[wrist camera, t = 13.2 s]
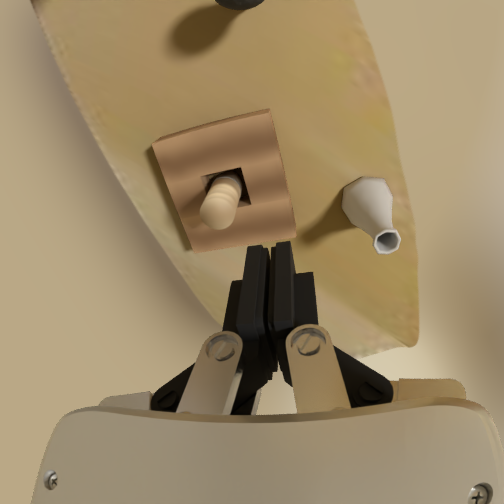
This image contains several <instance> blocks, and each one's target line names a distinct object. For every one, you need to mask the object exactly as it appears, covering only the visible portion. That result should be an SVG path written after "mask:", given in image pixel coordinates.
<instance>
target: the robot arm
mask: <svg viewBox="0 0 504 504" xmlns="http://www.w3.org/2000/svg"><path fill="white" fill-rule="evenodd" d="M278 362H279V365H280V369H281V371H282V372H283V376H284V380H285V382H286V383H288V384H289V385H290V386H291V387H293V390H294V396H295V402H296V408H297V414H279V415H256V412H257V408H258V404H259V400H260V396H261V387H263V386H264V385H265V384H266V383H267V382H268V380H272V374H273V372H277V370H278ZM31 504H504V451H503V447H502V443H501V440H500V436H499V433H498V430H497V428H496V425H495V423H494V421H493V419H492V417H491V415H490V414H489V412H488V411H487V410H486V409H485V408H484V407H483V406H481V405H480V404H478V403H476V402H473V401H469V400H466V392H465V388H464V387H463V385H462V384H461V383H460V382H458V381H457V380H454V379H399V381H389V380H387V379H386V378H385V377H384V376H382V375H381V374H379V373H377V372H376V371H374V370H372V369H371V368H369V367H367V366H365V365H364V364H362V363H361V362H359V361H358V360H356V359H354V358H353V357H351V356H350V355H348V354H346V353H345V352H343V351H342V350H340V349H338V348H337V347H335V346H334V345H333V344H332V341H331V337H330V335H329V333H328V331H327V330H325V329H324V328H323V327H321V326H318V315H317V305H316V295H315V285H314V276H313V272H306V273H298V274H296V272H295V266H294V260H293V254H292V248H291V243H290V241H286V242H278V243H276V247H271V260H270V255H269V251H268V248H263V246H262V245H255V246H248V248H247V254H246V260H245V267H244V273H243V280H236V281H232V283H231V287H230V292H229V297H228V303H227V308H226V313H225V319H224V324H223V330H222V332H218V333H215V334H213V335H212V336H210V337H209V338H208V339H207V340H206V341H205V342H204V344H203V345H202V348H201V350H200V353H199V355H198V358H197V360H196V362H195V363H194V364H193V365H191V366H190V367H189V368H187V369H186V370H184V371H183V372H182V373H180V374H179V375H177V376H176V377H175V378H173V379H172V380H171V381H169V382H168V383H166V384H165V385H163V386H162V387H161V388H159V389H158V390H157V391H156V392H155V393H151V392H150V391H148V392H142V393H135V394H127V395H119V396H110V397H107V398H105V399H104V400H102V401H101V402H100V404H99V406H92V407H85V408H81V409H77V410H74V411H71V412H69V413H67V414H66V415H64V416H63V417H62V418H61V419H60V420H59V422H58V423H57V425H56V427H55V429H54V431H53V433H52V435H51V437H50V440H49V442H48V445H47V447H46V450H45V453H44V456H43V459H42V462H41V466H40V469H39V472H38V476H37V480H36V484H35V488H34V492H33V496H32V501H31Z"/></svg>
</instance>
